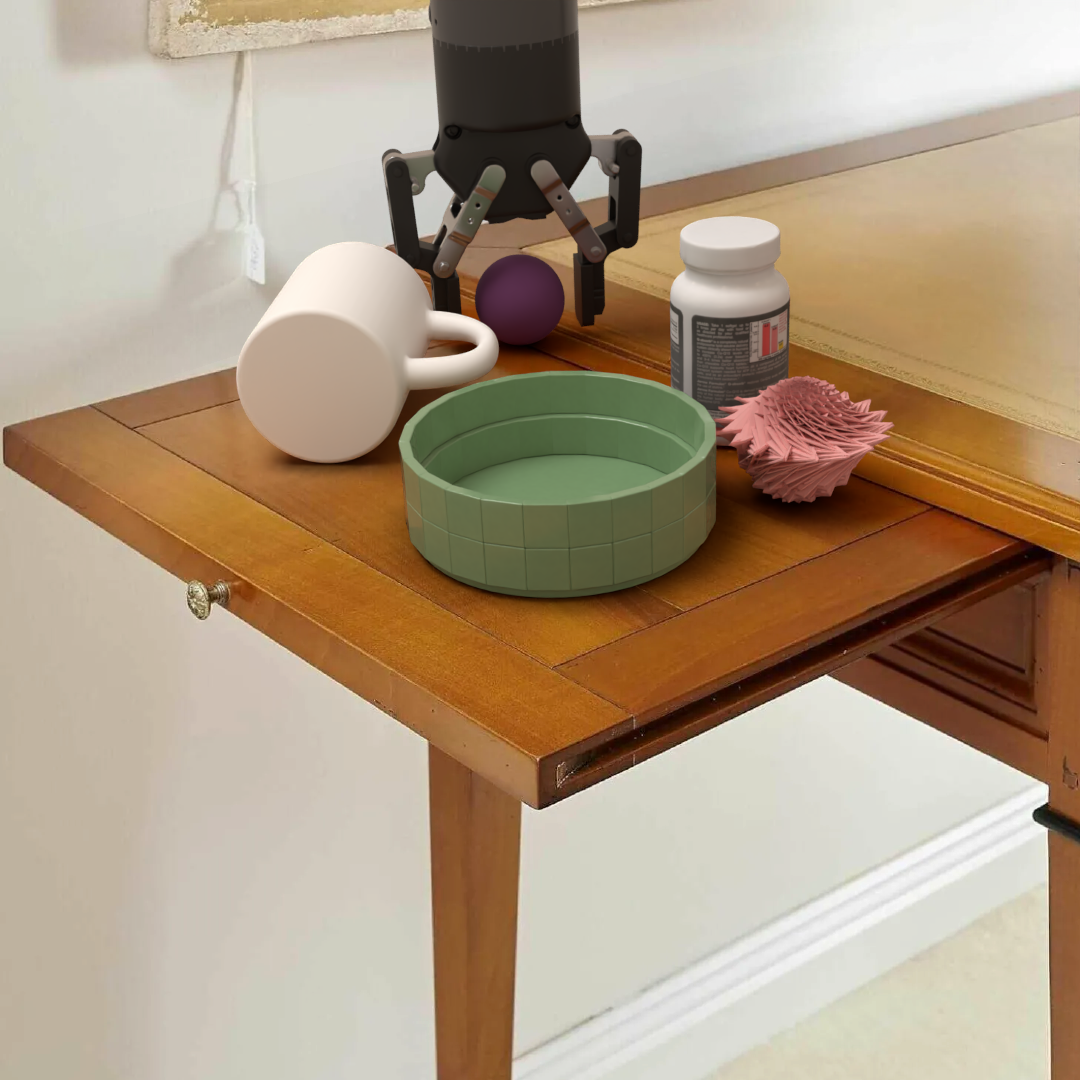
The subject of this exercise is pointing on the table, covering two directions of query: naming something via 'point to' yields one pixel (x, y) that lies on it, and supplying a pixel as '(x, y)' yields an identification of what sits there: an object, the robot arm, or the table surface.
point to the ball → (520, 299)
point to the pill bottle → (729, 313)
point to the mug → (350, 353)
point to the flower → (801, 437)
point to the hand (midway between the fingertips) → (520, 327)
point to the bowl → (559, 482)
